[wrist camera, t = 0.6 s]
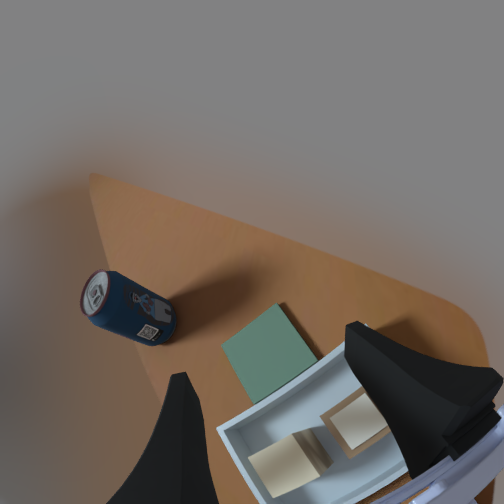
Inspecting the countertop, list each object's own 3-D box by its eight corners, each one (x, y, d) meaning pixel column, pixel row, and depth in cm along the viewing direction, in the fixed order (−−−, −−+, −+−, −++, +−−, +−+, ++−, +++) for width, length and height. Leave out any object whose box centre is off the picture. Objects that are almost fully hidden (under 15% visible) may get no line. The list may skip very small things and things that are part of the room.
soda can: (138, 323, 40) (73, 293, 31) (167, 291, 40) (104, 253, 31) (155, 358, 36) (83, 333, 27) (188, 324, 36) (117, 289, 27)
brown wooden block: (397, 419, 20) (399, 425, 16) (357, 447, 20) (349, 460, 16) (371, 384, 23) (366, 381, 18) (332, 412, 23) (318, 416, 19)
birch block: (333, 462, 20) (319, 476, 16) (294, 482, 21) (273, 498, 16) (310, 427, 23) (291, 433, 19) (273, 449, 23) (247, 457, 19)
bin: (446, 430, 17) (453, 434, 15) (293, 522, 19) (281, 534, 16) (368, 331, 26) (365, 323, 23) (233, 426, 27) (216, 428, 24)
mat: (318, 361, 27) (317, 360, 26) (256, 404, 27) (253, 404, 27) (278, 304, 32) (276, 302, 31) (223, 346, 32) (221, 345, 32)
